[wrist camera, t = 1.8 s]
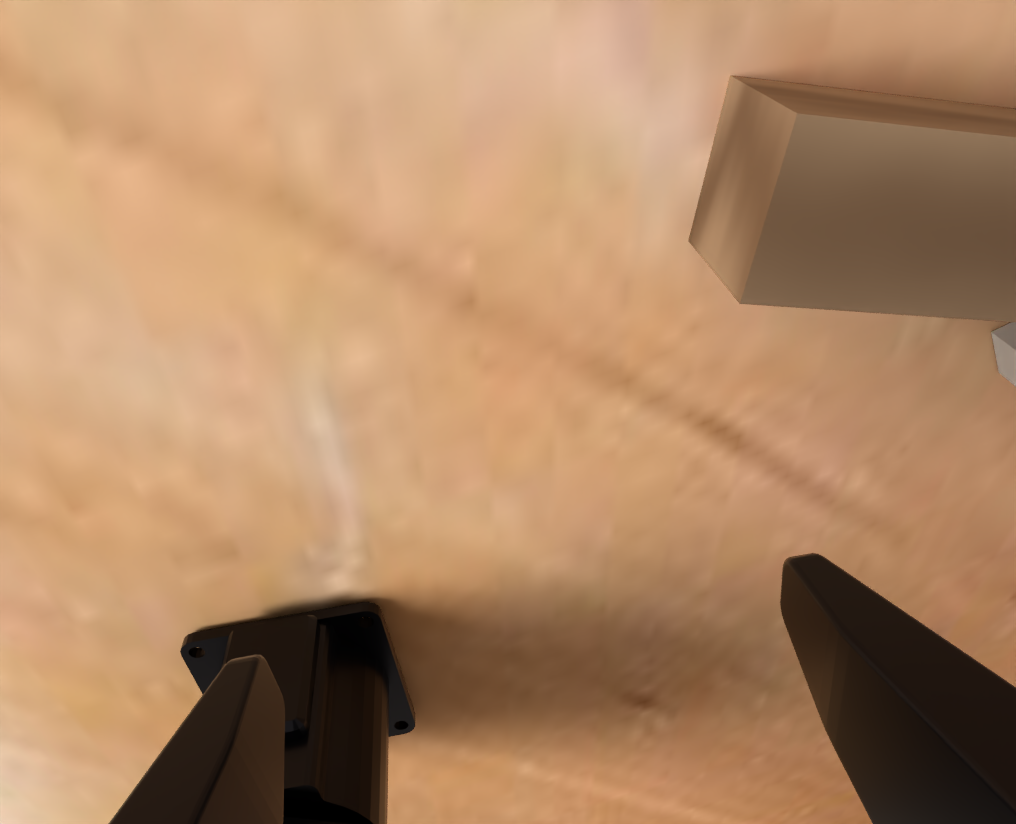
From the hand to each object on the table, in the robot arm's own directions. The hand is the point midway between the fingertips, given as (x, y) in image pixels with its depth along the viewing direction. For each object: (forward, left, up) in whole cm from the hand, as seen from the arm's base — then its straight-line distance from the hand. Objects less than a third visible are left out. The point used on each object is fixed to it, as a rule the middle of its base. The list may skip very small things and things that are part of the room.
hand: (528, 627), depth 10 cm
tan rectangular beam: (0, -12, -12) cm, 17 cm away
